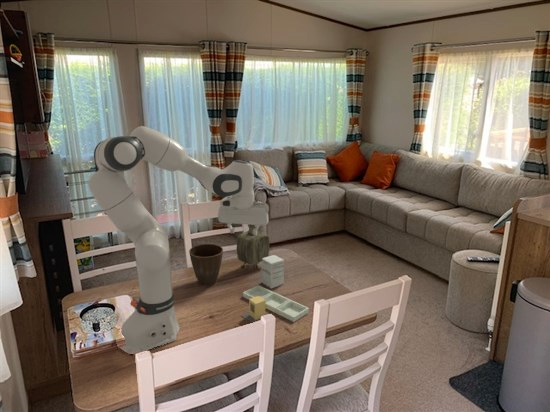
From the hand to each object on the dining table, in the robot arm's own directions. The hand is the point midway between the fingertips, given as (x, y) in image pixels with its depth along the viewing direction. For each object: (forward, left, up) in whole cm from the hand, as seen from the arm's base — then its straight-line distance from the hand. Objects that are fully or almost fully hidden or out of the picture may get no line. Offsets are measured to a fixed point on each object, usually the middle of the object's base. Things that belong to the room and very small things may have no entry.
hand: (243, 233), depth 164 cm
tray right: (+4, -23, -29) cm, 37 cm away
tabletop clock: (+24, +18, -29) cm, 42 cm away
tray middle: (+4, -14, -29) cm, 32 cm away
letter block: (-7, -14, -28) cm, 33 cm away
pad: (-7, -15, -29) cm, 33 cm away
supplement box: (+17, -1, -29) cm, 34 cm away
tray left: (+4, -4, -29) cm, 30 cm away
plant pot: (-2, +22, -29) cm, 37 cm away
